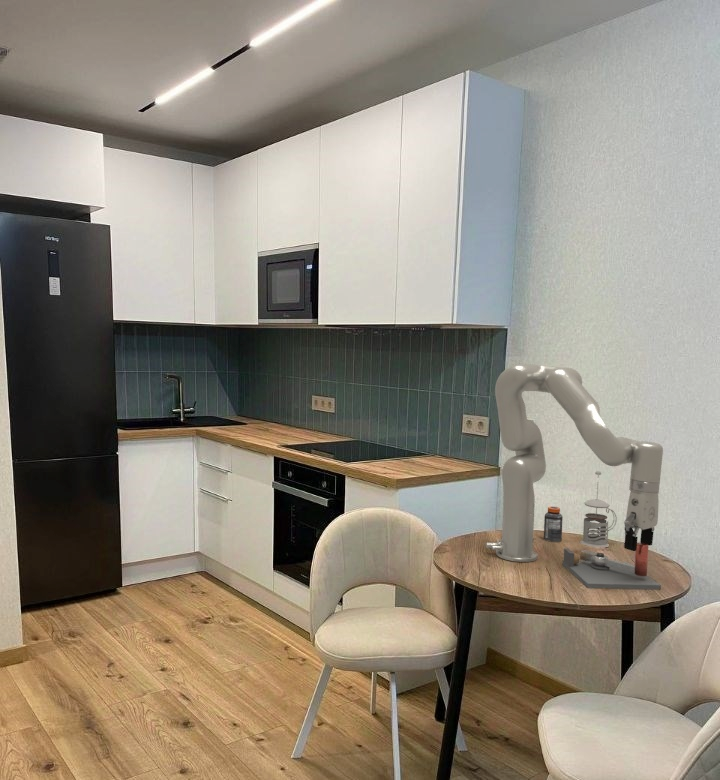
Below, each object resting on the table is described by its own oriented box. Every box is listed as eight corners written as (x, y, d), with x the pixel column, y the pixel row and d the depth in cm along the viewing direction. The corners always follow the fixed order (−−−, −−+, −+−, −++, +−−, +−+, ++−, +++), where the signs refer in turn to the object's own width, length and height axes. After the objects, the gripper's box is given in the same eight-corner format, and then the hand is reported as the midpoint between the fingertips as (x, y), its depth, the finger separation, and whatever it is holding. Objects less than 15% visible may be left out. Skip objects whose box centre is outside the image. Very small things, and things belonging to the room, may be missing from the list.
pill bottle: (549, 536, 223) (550, 504, 223) (564, 540, 219) (566, 507, 218) (540, 539, 219) (541, 506, 219) (556, 543, 215) (557, 510, 214)
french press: (575, 539, 220) (578, 468, 219) (607, 540, 221) (611, 468, 219) (586, 548, 210) (589, 473, 209) (620, 548, 211) (624, 474, 210)
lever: (642, 578, 174) (644, 546, 174) (578, 560, 189) (579, 531, 188) (649, 575, 177) (651, 544, 177) (586, 557, 192) (587, 529, 191)
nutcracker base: (587, 587, 172) (588, 568, 172) (562, 564, 192) (563, 547, 192) (660, 589, 172) (661, 570, 172) (627, 565, 192) (628, 548, 192)
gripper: (643, 492, 168) (637, 556, 169) (671, 486, 179) (665, 545, 180) (616, 486, 173) (610, 548, 174) (644, 480, 185) (639, 538, 186)
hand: (638, 546), depth 177 cm, fingers open, 9 cm apart
